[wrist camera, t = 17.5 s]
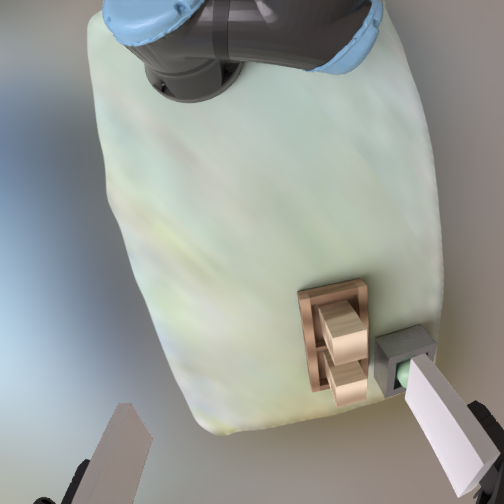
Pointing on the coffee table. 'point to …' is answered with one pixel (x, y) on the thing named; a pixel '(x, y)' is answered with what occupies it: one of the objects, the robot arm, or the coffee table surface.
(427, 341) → the grey square bin
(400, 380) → the button
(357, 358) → the billet
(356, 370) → the seated billet
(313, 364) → the wooden divided tray
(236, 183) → the coffee table surface
